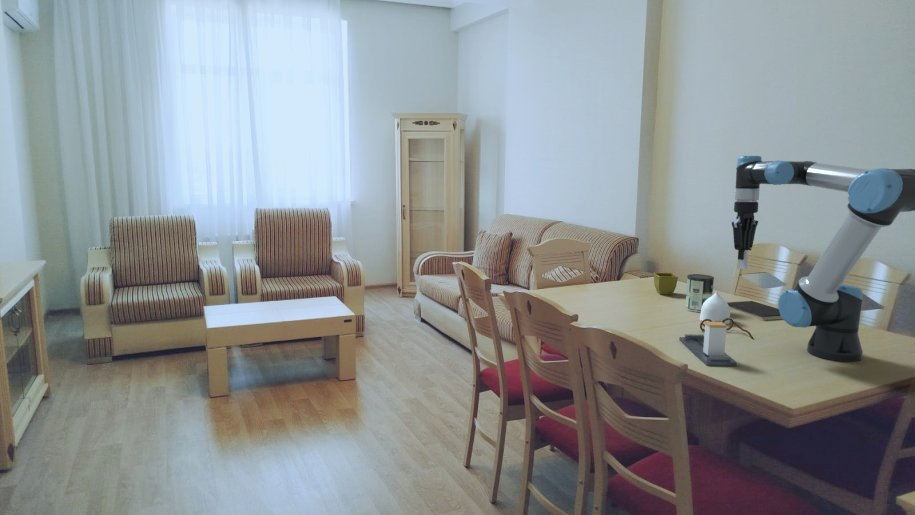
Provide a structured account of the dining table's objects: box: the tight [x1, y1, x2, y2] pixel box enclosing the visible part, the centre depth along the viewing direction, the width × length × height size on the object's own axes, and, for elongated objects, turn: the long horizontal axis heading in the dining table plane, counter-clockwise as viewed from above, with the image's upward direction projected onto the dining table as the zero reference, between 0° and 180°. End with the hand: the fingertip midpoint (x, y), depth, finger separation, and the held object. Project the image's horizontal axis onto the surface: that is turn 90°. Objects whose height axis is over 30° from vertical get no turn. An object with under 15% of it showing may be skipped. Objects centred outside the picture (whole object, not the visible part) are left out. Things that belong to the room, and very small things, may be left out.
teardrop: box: [699, 290, 731, 325], centre depth 238 cm, size 11×11×12 cm
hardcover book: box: [726, 300, 783, 321], centre depth 253 cm, size 16×23×2 cm
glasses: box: [699, 317, 755, 341], centre depth 219 cm, size 13×13×5 cm
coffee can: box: [685, 273, 715, 313], centre depth 255 cm, size 10×10×14 cm
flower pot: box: [653, 272, 679, 295], centre depth 285 cm, size 9×9×9 cm
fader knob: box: [703, 322, 728, 355], centre depth 192 cm, size 4×5×10 cm
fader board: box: [678, 333, 738, 367], centre depth 199 cm, size 26×9×2 cm, turn 178°
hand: (742, 268), depth 216 cm, fingers closed
